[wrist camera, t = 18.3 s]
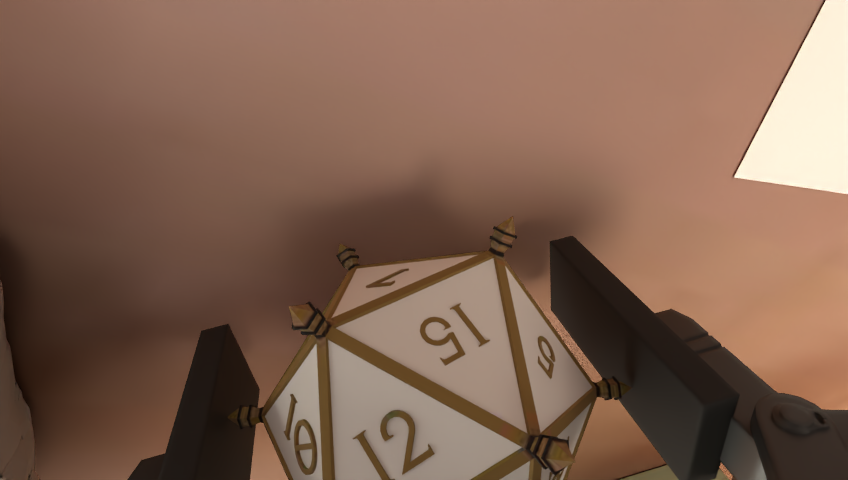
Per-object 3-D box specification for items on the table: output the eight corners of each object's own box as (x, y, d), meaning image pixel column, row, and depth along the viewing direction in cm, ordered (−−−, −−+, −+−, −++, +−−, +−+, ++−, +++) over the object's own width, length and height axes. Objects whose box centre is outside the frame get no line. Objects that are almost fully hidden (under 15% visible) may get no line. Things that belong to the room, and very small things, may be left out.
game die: (426, 267, 19) (582, 514, 15) (207, 360, 15) (344, 720, 11) (511, 91, 12) (850, 483, 8) (129, 184, 8) (437, 1026, 4)
